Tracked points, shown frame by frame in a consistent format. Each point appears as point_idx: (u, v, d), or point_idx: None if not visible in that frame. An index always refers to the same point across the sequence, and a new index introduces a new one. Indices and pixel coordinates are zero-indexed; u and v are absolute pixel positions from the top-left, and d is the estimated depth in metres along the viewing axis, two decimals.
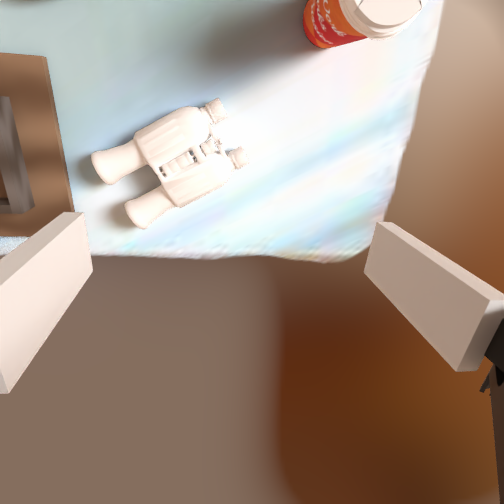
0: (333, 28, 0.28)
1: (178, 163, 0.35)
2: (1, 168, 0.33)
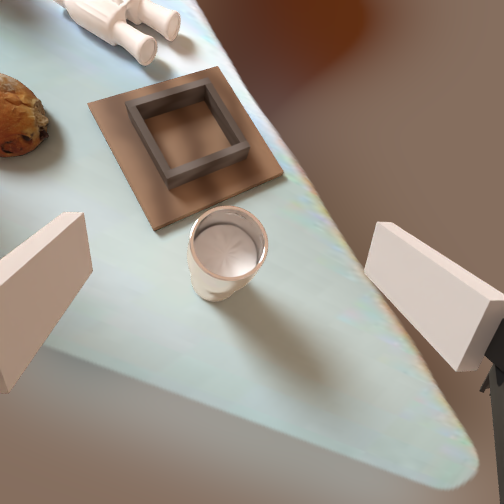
0: None
1: None
2: (177, 91, 0.42)
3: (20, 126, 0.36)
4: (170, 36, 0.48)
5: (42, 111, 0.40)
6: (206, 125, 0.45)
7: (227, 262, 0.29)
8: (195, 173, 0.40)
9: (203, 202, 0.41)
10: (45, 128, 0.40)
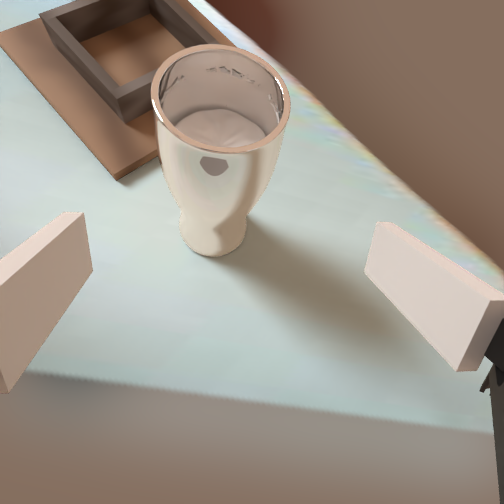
0: None
1: None
2: None
3: None
4: None
5: None
6: (160, 41, 0.34)
7: None
8: None
9: None
10: None
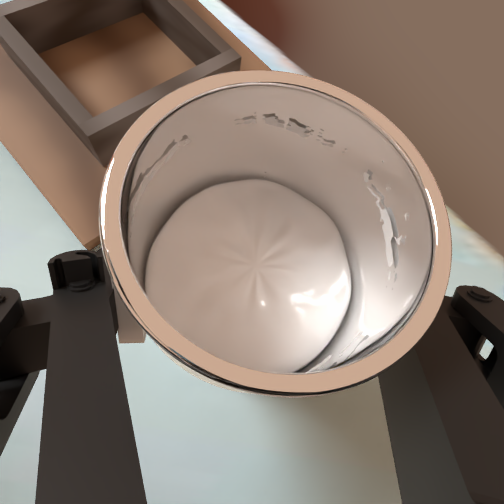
0: None
1: None
2: None
3: None
4: None
5: None
6: (155, 48, 0.25)
7: (270, 287, 0.09)
8: None
9: None
10: None
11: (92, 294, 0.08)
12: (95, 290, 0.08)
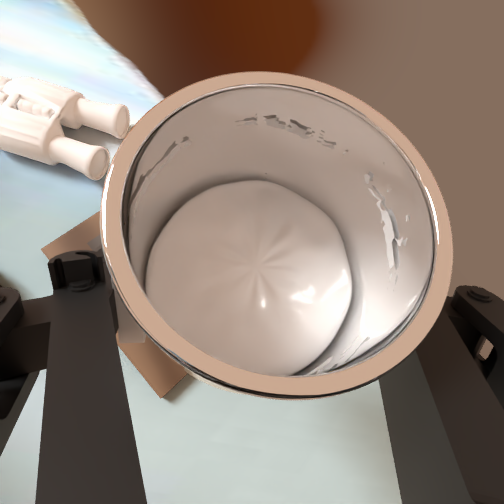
0: None
1: (31, 105, 0.35)
2: None
3: None
4: (121, 133, 0.39)
5: None
6: None
7: (271, 289, 0.09)
8: None
9: None
10: None
11: (92, 294, 0.08)
12: (95, 290, 0.08)
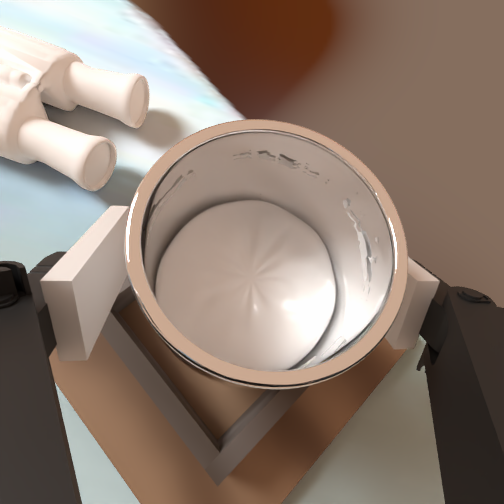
0: None
1: None
2: None
3: None
4: (136, 119, 0.26)
5: None
6: None
7: (264, 297, 0.11)
8: None
9: (295, 470, 0.19)
10: None
11: (16, 309, 0.07)
12: (19, 305, 0.07)
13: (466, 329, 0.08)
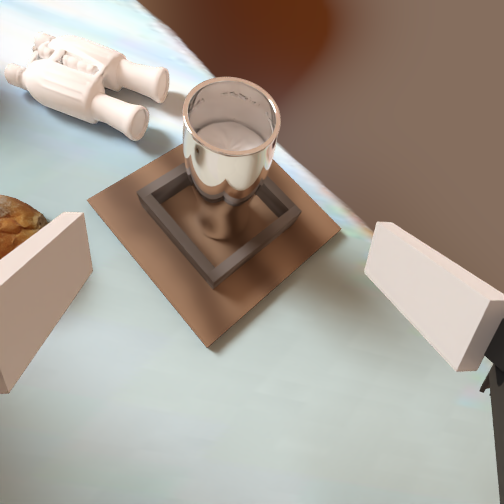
0: None
1: (76, 61, 0.35)
2: None
3: None
4: (160, 97, 0.39)
5: None
6: None
7: None
8: (243, 261, 0.31)
9: (259, 294, 0.32)
10: None
11: None
12: None
13: None
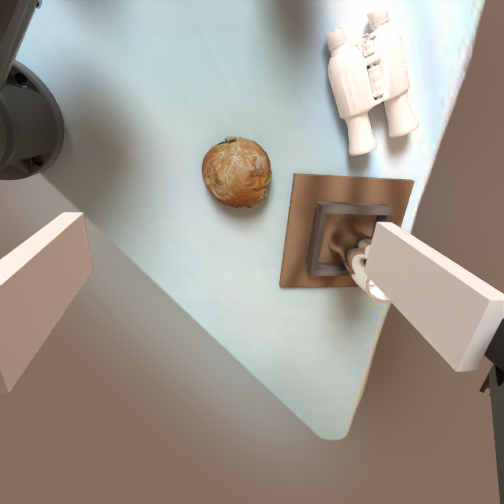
0: None
1: (377, 80, 0.40)
2: (364, 213, 0.48)
3: (250, 203, 0.46)
4: None
5: None
6: (363, 231, 0.53)
7: None
8: None
9: (319, 284, 0.57)
10: None
11: None
12: None
13: None
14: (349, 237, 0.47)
